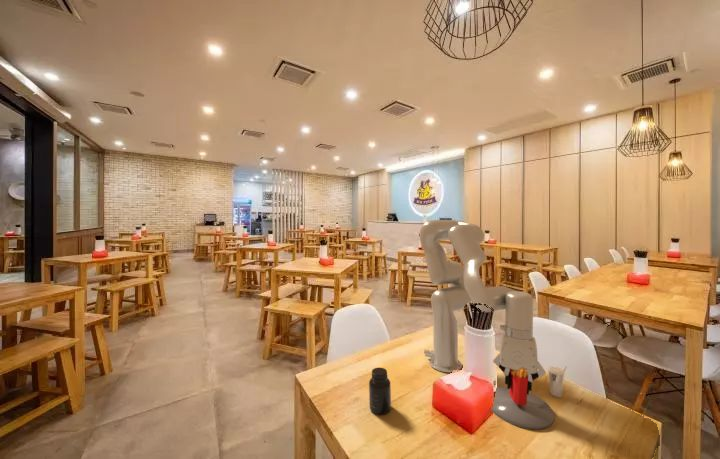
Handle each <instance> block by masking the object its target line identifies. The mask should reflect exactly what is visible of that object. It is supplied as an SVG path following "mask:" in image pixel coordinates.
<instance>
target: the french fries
mask: <svg viewBox="0 0 720 459" xmlns="http://www.w3.org/2000/svg"><path fill="white" fill-rule="evenodd" d="M527 374H528V373H527V369H524V368H521V370H518V371H517V370H513V369H510V389H509V394H510V396H511V398H512V400H513V401H514V402H515V403H516V404H518V405H526V404H527V385H528V376H527Z"/></svg>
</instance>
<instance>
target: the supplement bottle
mask: <svg viewBox="0 0 720 459" xmlns="http://www.w3.org/2000/svg"><path fill="white" fill-rule="evenodd" d="M391 391H392V388H391V380H390V379H389V378H388V370H387V369H386V368H384V367H375V368H372V370H371V378H370V379H369V382H368V394H369V395H368V400H369V403H368V404H369V410H370V411H371V413H373V414H374V415H377V416H384V415H386V414H388V413H390V411H391V409H392V393H391Z"/></svg>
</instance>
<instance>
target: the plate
mask: <svg viewBox="0 0 720 459" xmlns="http://www.w3.org/2000/svg"><path fill="white" fill-rule="evenodd" d="M495 388H496V393H495V397H494V404H493V408H491V409H490V410H491V411H490V412H492V413H493V414H494V415H495V416H497V417H498V418H499V419H501V420H502V421H504V422H506V423H508V424H510V425H513V426H516V427H519V428H522V429H525V430H534V431H536V430H544V429H545V430H546V429H548V428H550V427H551V426H552V425H553V423H554V416H555V414H554V411H553V409H552V408H551V406H550V405H549V404H548V403H547V402H546V401H545V400H544V399H543V398H541V397H540V396H537V395H535V394H534V393H531V392H529V394H527V404H526V405H518V404H516V403H515V402H514V401H513V400H512V398H511V396H510V394H509V389H507V386H500V387H499V386H498V387H495Z"/></svg>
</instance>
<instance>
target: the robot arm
mask: <svg viewBox="0 0 720 459" xmlns="http://www.w3.org/2000/svg"><path fill="white" fill-rule="evenodd" d="M418 235H419V243H420V245H421V248H422V251H423V254H424V256H425V263H426V267H427V272H428V276H429V279H430V282H431V284H433V285H435V286H446V285H449V287H442V288H439V289H436V290H435V291H433V293H432V294H431V297H430V305H431V309H432V310H431V311H432V320H433V322H432V324H433V325H432V326H433V349H432V350H429V349H426V348H425V349H424V351H423V354H424V357H427V358H430V359H429V364H430V366H431V368H433V369H435V370H436V371H439V372H442V373H451V372H452V371H453V370H457V369H458V370H459V371H461V370H462V367H463V365H462V362H461V361H460V360H459V359H458V356H459V354H458V352H459V350H458V348H459V346H458V342H459V341H458V340H459V338H458V337H459V336H458V335H459V334H458V332H459V331H458V330H459V329H458V320H457V317H456V315H455V313H454V312H456V311H460V310H464V309H465V308H464V305H465V304H467V303H473V304H474V303H483V304H482V305H476V306H475V307H476V308H477V309H478V308H479V309H480V310H482V311H481V312H483V311H485V312H484V313H491V309H490V308H491V307H493V309H494V311H493V312H495V311H500V310H501V311H502V310H505V312H504V313H505V314H504V317H505V318H504V324H503V325H502V324H500V325H499V329H500V330H501V331H504V332H503V333H502V335H501V339H500V349H499V353H498V354H497V355H496V356H495V357H494V358H495V359H494V358H493V360H492V361H493V362H492V363H493V364H495V365H496V366H497V367H498V368H499V369H500V370H501V371H502V372H503V375H504V376H505V377H504V384H505V385H506V387H507V389H510V369H513V370H517V371H518V370H521V368H524V369H527V373H528V374H527V376H528V385H527V394H529V393H530V392H532V388H533V387H532V386H533V385H532V382H534V381H535V380H537V379H538V378H540V377H543V376H545V375H546V374H547V373H546V370H545V369H544V368H543V367H544V366H542V364H541V363H540V362H539V360H538V359H539V358H538V357H539V356H538V348H537V341H536V338H535V337H534V333H533V329H534V326H533V324H534V322H533V321H534V298H533V296H532V294H530V293H529V292H525V291H519V290H518V291H517V290H516V289H512V288H509V287H508V286H503V285H497V286H491V287H486V285H485V284H484V282H483V281H482V278H481V276H480V275H481V274H480V267H481V266H482V265H483V264H484V263H485V262H486V260H487V255H486V253H485V252H484V250H483V248H482V247H481V245H480V244H482V242H483V241H484V238H485V232H484V230H483V229H482V228H481V226H479V225H477V224H474V223H469V222H464V221H461V220H454V219H431V220H428V221H426V222H424V223H423V225H422V226H421V227H420V230H419V234H418ZM446 240H447V241H449V242H450V244H451V246H452V248H453V249H454V251H455V252H456V255H457V256H458V258H459V260H460V262H461V263H462V264H461V263H460V262H458V261H455V260H449V261H448V259H447V254H446V251H445V249H444V247H443V245H442V244H441V243H440V242H439V241H446ZM484 304H486V305H488V306H490V308H487V307H488V306H487V307H486V306H484ZM479 309H478V310H479ZM480 310H479V311H480ZM451 374H452V373H451Z"/></svg>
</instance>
